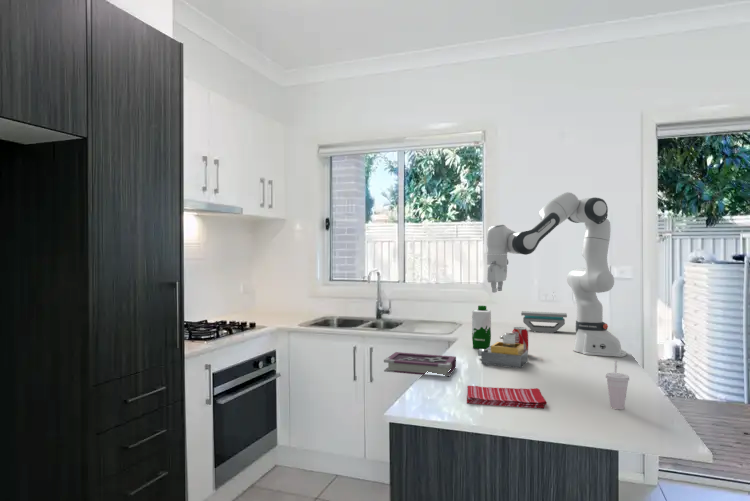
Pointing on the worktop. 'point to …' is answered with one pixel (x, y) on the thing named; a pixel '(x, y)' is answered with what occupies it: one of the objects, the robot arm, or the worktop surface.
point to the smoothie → (617, 388)
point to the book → (420, 363)
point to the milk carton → (481, 328)
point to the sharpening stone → (544, 320)
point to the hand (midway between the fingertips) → (497, 291)
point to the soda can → (521, 336)
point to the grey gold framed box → (504, 355)
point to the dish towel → (506, 397)
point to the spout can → (508, 340)
